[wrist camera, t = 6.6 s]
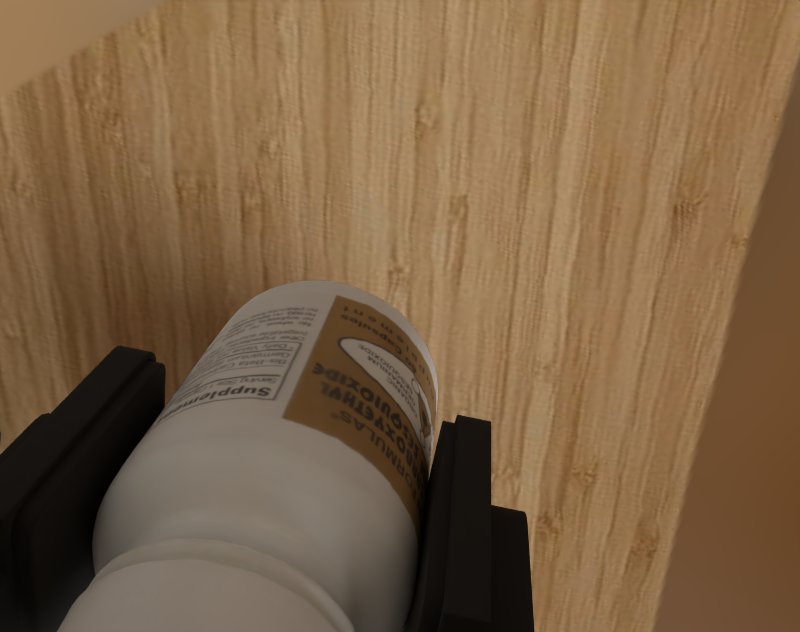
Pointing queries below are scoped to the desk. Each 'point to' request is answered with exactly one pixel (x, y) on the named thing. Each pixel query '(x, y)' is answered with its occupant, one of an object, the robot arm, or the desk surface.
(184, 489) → the pill bottle
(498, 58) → the desk surface
